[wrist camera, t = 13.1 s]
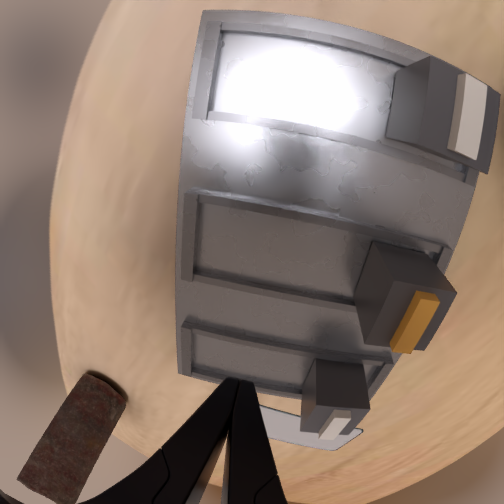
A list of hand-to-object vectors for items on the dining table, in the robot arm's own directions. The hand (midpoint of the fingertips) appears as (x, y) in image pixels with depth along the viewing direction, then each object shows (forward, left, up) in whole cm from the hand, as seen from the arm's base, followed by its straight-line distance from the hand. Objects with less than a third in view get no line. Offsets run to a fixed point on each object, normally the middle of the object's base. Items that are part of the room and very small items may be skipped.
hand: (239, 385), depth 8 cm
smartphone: (-8, +24, -13) cm, 28 cm away
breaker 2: (-7, -10, -10) cm, 16 cm away
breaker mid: (-8, 0, -10) cm, 13 cm away
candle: (+18, +26, -12) cm, 34 cm away
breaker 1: (-7, +10, -10) cm, 16 cm away
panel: (-3, 0, -12) cm, 12 cm away
